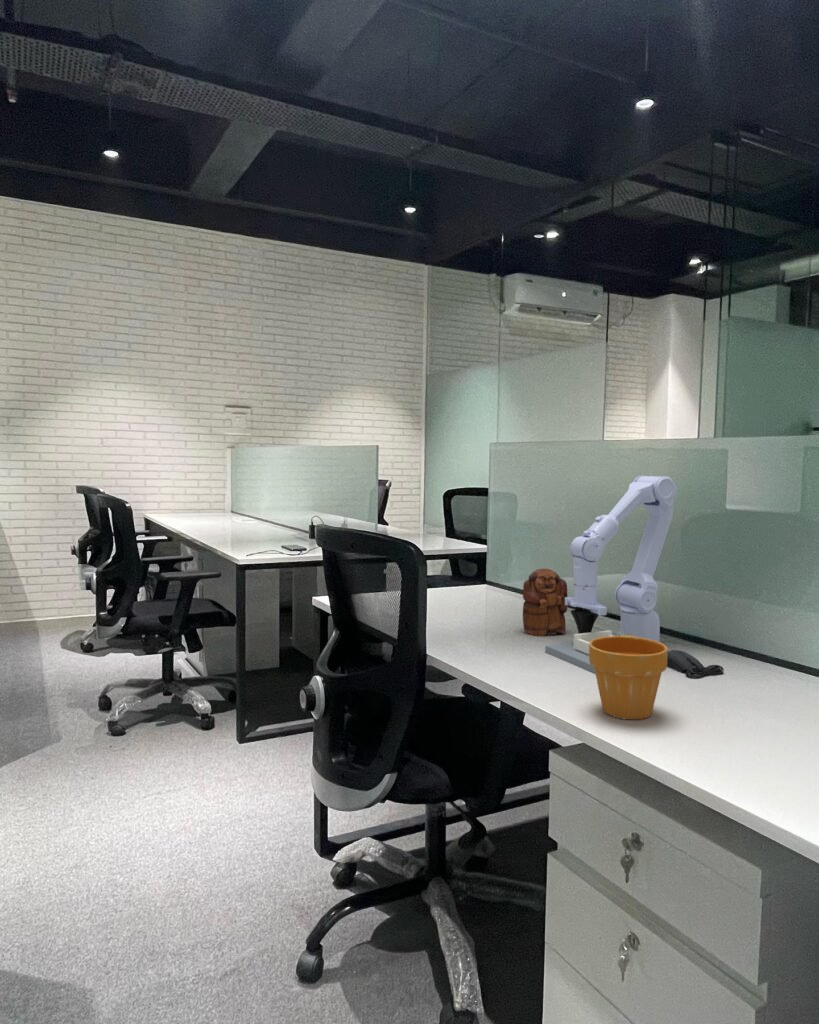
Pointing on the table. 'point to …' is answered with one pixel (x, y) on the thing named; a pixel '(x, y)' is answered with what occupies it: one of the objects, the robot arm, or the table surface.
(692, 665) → the computer mouse
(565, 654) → the base board
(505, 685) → the table surface
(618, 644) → the flower pot
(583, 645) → the frame
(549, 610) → the wooden figurine
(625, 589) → the robot arm
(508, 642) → the table surface
